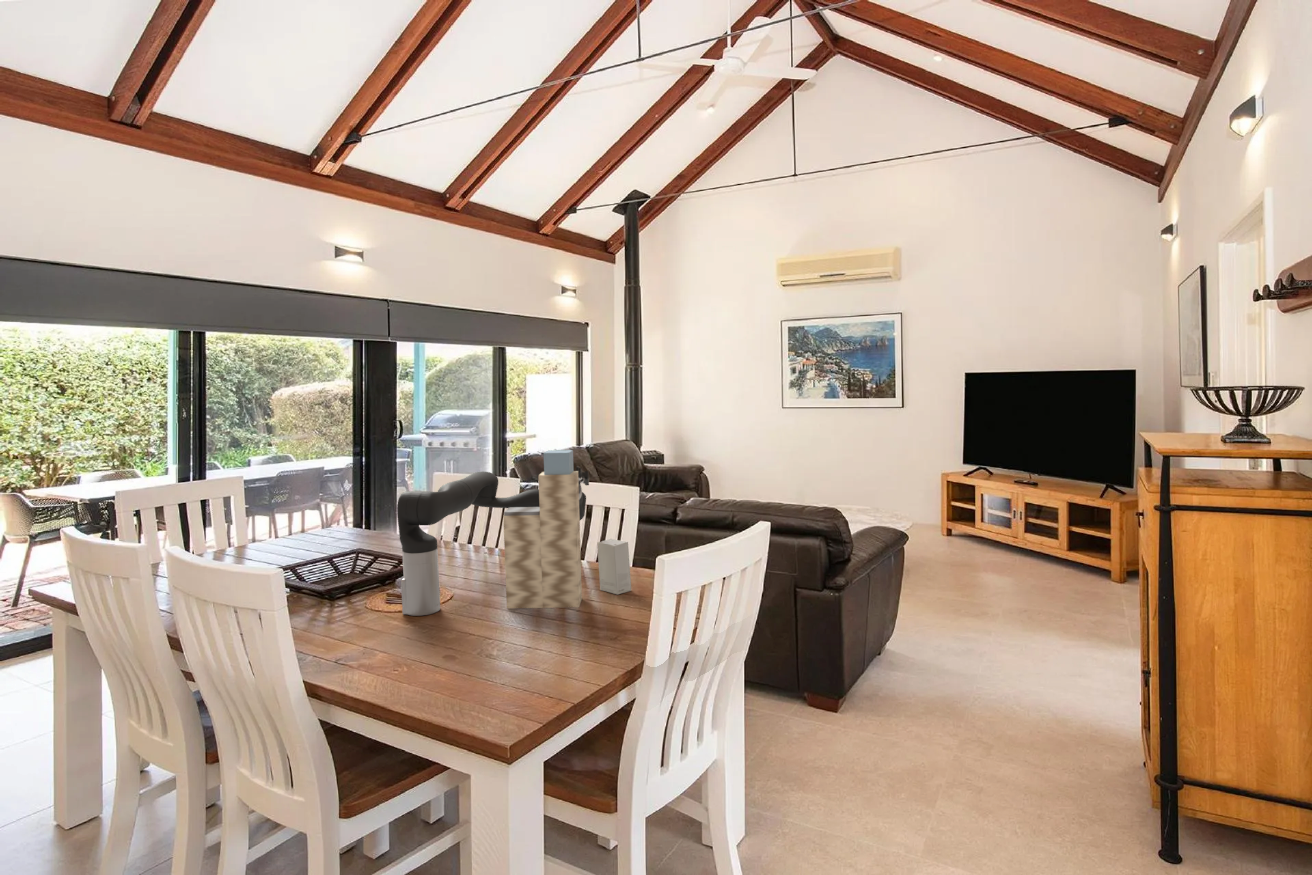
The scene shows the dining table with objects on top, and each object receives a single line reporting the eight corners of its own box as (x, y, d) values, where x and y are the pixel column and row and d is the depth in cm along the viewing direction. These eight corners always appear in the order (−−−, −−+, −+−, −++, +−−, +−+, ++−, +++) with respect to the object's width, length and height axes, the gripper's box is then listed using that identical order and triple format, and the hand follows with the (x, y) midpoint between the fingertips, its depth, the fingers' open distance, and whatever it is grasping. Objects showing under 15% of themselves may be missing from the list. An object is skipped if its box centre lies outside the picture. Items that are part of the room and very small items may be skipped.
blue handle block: (544, 474, 199) (543, 453, 198) (554, 467, 215) (554, 447, 215) (569, 474, 199) (569, 452, 198) (578, 466, 215) (577, 446, 215)
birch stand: (506, 608, 201) (501, 476, 198) (512, 600, 209) (507, 472, 206) (578, 607, 201) (575, 474, 198) (581, 598, 209) (578, 471, 205)
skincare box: (631, 591, 215) (630, 541, 214) (616, 595, 211) (615, 545, 210) (613, 585, 221) (612, 537, 220) (597, 589, 217) (596, 540, 216)
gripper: (547, 478, 235) (540, 458, 220) (591, 477, 235) (587, 457, 220) (546, 500, 232) (539, 481, 217) (591, 499, 232) (586, 480, 217)
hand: (563, 469), depth 219 cm, fingers open, 8 cm apart
